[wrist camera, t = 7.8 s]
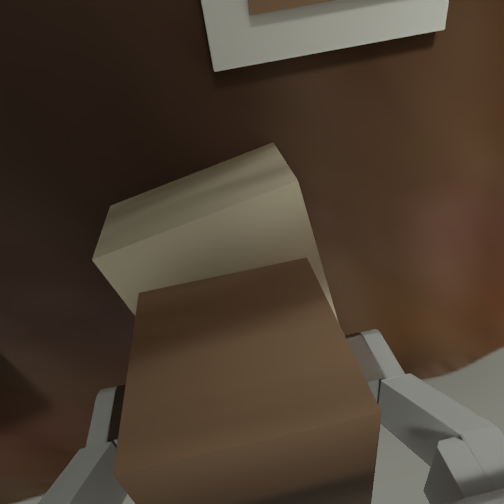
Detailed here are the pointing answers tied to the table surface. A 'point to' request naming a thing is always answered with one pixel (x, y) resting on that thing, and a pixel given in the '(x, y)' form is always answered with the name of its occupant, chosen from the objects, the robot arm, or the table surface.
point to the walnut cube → (245, 396)
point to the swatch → (309, 26)
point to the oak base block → (208, 227)
